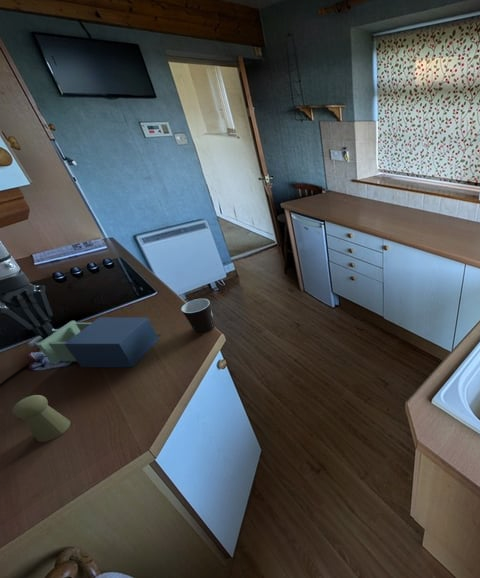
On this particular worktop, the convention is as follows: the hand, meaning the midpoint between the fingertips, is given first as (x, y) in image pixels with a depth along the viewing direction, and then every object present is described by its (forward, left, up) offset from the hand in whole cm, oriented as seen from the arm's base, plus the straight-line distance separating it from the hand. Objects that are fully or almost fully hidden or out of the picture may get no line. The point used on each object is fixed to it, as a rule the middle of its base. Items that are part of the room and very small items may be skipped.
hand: (52, 340), depth 92 cm
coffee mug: (+39, +14, -6) cm, 42 cm away
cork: (+22, -27, -6) cm, 35 cm away
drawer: (+7, 0, -4) cm, 8 cm away
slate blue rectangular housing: (+19, 0, -5) cm, 20 cm away
